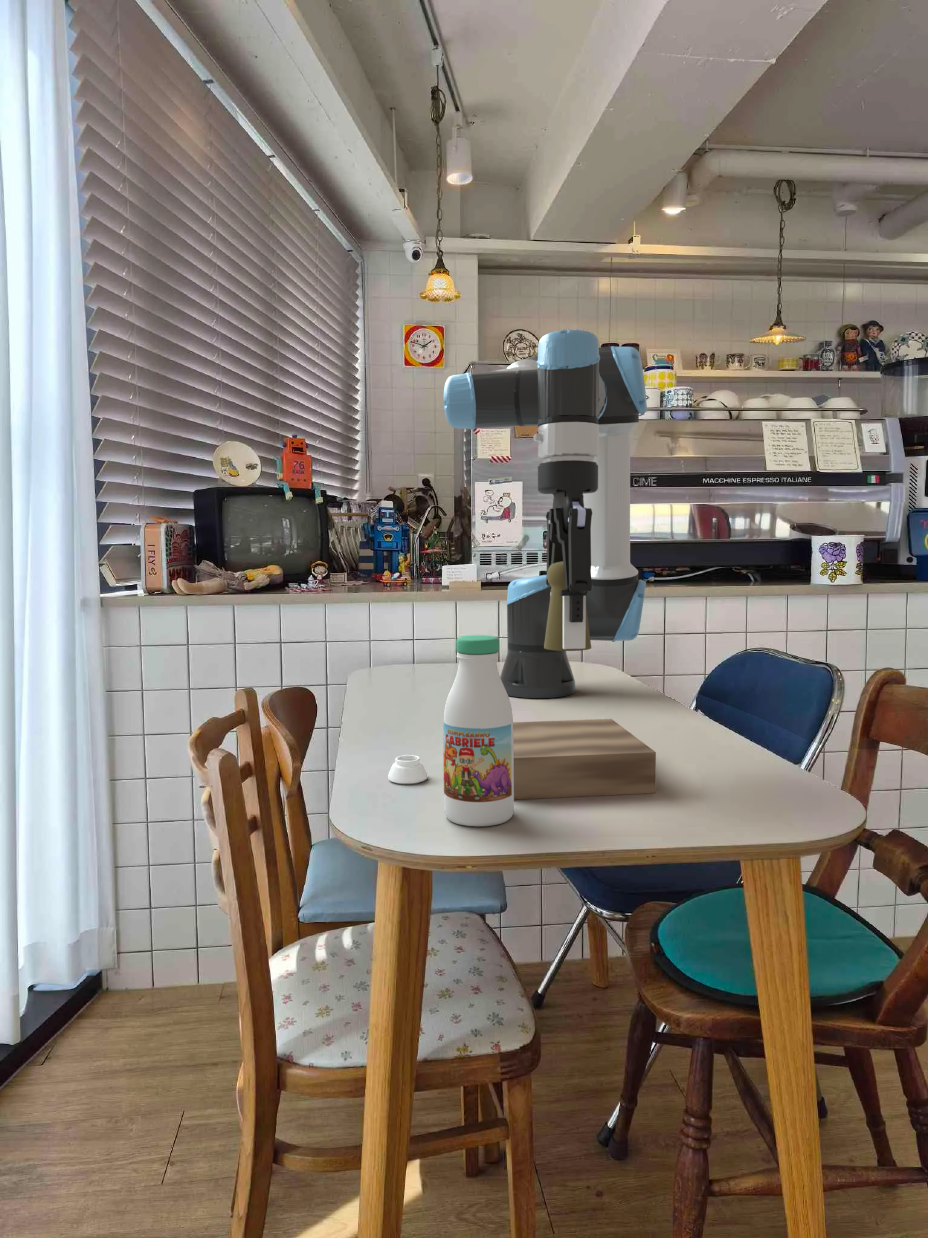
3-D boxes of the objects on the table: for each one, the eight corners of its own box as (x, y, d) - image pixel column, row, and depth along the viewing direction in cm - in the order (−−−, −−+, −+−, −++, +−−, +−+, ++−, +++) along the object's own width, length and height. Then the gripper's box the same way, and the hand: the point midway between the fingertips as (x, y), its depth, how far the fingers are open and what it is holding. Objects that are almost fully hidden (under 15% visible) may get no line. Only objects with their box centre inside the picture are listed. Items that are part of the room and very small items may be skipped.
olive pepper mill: (590, 651, 100) (590, 562, 99) (541, 650, 101) (541, 562, 100) (592, 645, 106) (592, 560, 104) (546, 644, 107) (546, 560, 106)
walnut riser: (485, 758, 113) (485, 723, 112) (611, 753, 115) (611, 718, 114) (507, 800, 95) (506, 758, 94) (655, 792, 97) (655, 752, 96)
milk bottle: (448, 804, 94) (446, 632, 92) (515, 805, 93) (514, 632, 91) (439, 827, 86) (437, 641, 84) (512, 829, 85) (511, 641, 83)
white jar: (388, 775, 106) (388, 787, 101) (388, 753, 105) (387, 764, 100) (426, 774, 106) (428, 785, 101) (426, 752, 106) (427, 762, 101)
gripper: (523, 467, 110) (523, 636, 112) (556, 453, 91) (555, 656, 93) (577, 467, 111) (576, 635, 113) (620, 453, 92) (618, 654, 94)
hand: (567, 644), depth 103 cm, fingers closed on olive pepper mill, 6 cm apart
